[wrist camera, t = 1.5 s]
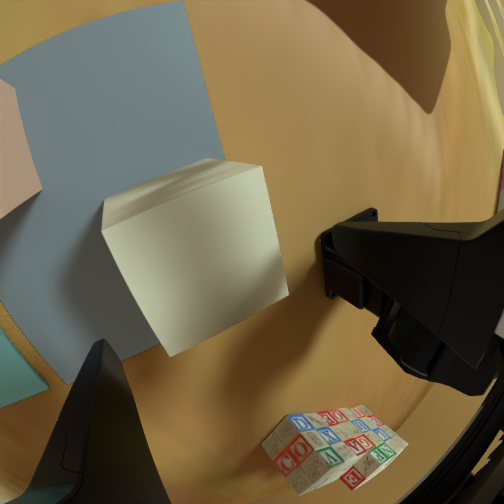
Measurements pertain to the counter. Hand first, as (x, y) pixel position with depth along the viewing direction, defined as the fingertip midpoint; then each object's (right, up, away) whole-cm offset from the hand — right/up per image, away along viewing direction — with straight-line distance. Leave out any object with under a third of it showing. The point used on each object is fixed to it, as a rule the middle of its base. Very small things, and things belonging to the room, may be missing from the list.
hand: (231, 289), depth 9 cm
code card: (-8, +4, +3) cm, 9 cm away
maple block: (-4, +3, +6) cm, 8 cm away
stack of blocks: (+11, -24, +26) cm, 37 cm away
